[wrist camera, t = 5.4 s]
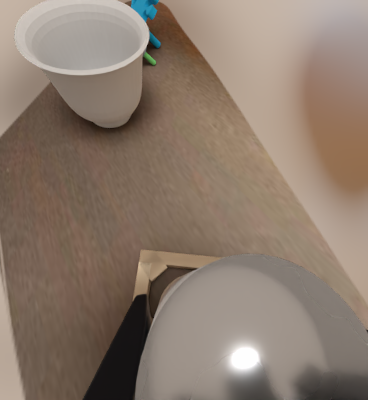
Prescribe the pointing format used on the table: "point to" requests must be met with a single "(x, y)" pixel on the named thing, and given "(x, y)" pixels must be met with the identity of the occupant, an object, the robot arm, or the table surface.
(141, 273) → the jig
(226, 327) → the translucent cylinder
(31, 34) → the teacup
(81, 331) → the table surface
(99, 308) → the table surface
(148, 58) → the gear
